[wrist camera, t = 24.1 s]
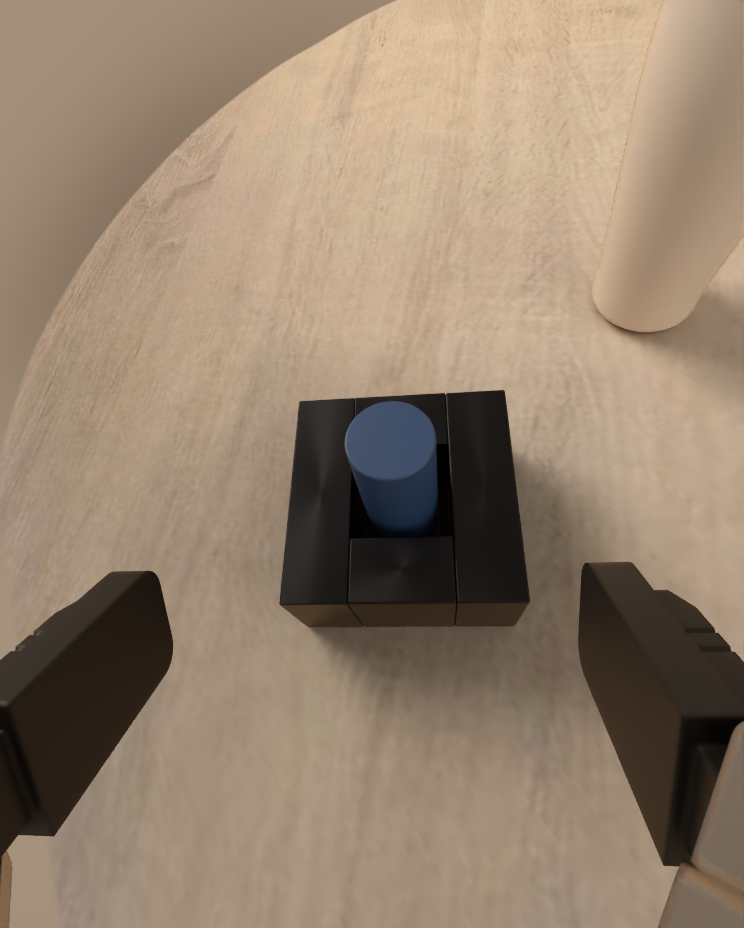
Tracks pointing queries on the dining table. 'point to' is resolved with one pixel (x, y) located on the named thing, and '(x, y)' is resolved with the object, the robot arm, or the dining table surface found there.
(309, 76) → the dining table surface
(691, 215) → the drinking glass
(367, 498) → the handle
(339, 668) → the dining table surface
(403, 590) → the holder
